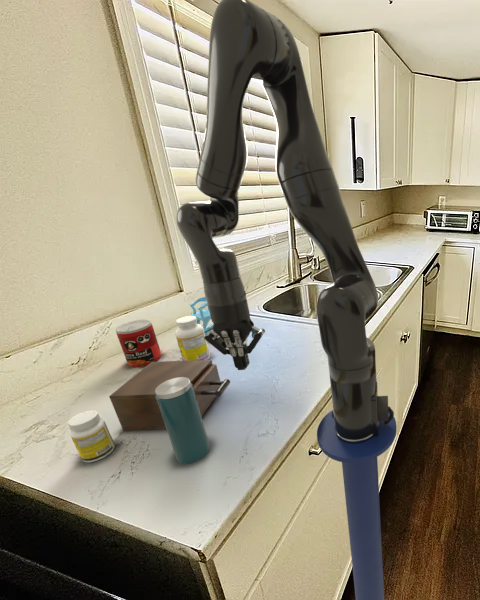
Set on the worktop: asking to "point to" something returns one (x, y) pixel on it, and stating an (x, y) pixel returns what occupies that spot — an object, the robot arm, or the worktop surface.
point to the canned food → (138, 342)
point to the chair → (202, 314)
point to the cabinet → (151, 392)
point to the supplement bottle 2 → (191, 339)
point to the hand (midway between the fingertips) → (243, 368)
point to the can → (182, 419)
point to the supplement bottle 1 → (91, 436)
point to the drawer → (209, 387)
